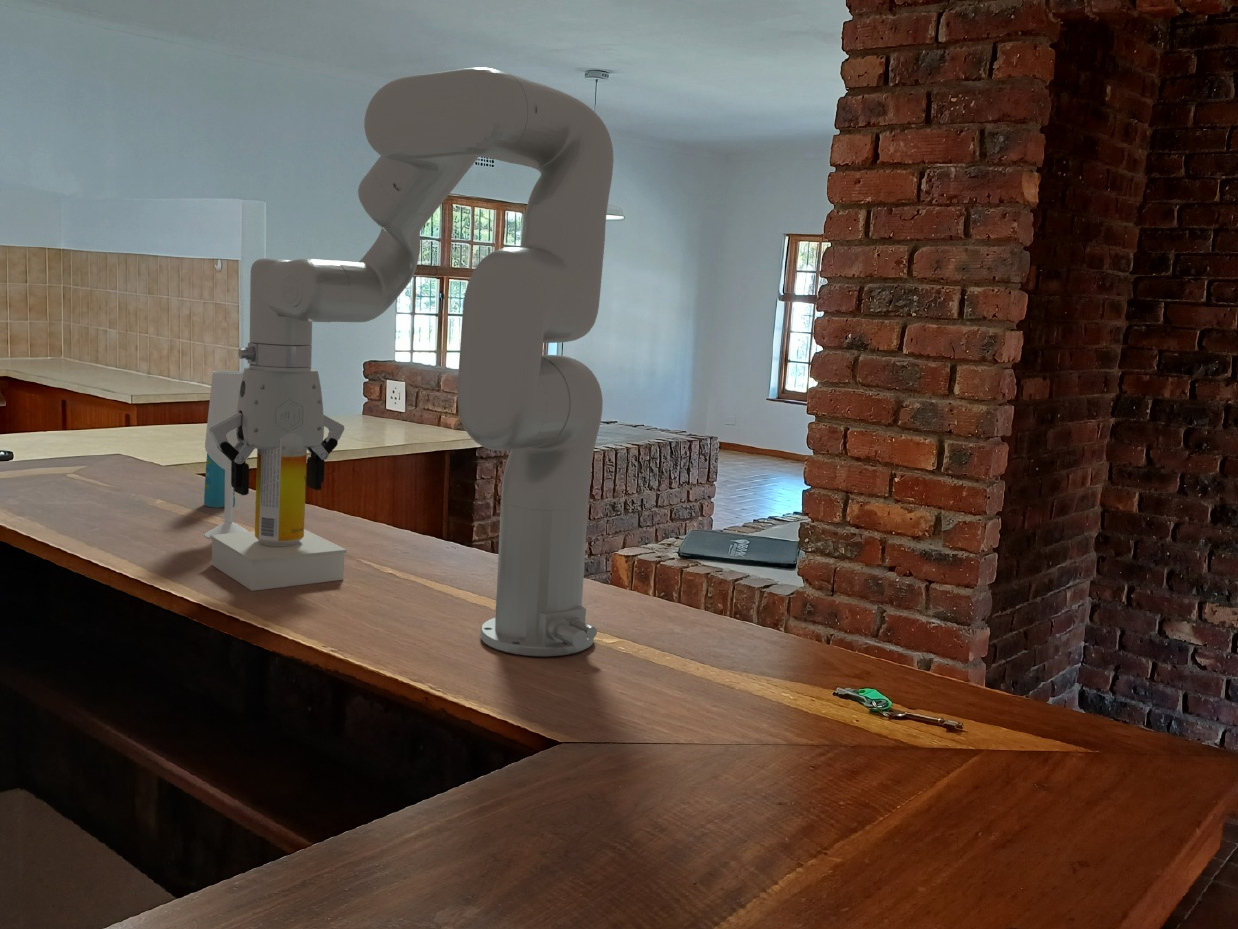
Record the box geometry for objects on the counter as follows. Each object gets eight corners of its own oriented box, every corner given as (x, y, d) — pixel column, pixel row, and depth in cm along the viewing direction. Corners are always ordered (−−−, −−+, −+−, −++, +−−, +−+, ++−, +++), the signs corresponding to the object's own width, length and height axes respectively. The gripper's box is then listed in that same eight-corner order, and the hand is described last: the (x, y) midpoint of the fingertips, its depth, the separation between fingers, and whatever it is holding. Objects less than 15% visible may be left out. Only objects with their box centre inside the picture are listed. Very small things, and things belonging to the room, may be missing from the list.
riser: (345, 579, 141) (346, 549, 140) (251, 591, 133) (251, 559, 132) (299, 555, 151) (300, 527, 151) (209, 564, 144) (210, 535, 143)
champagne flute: (202, 539, 157) (203, 372, 153) (206, 529, 163) (207, 369, 159) (251, 539, 158) (253, 375, 155) (253, 529, 165) (255, 371, 161)
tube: (201, 501, 183) (201, 387, 180) (231, 500, 185) (232, 387, 182) (207, 510, 176) (208, 391, 173) (238, 509, 178) (240, 392, 176)
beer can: (310, 539, 144) (314, 427, 142) (292, 549, 138) (296, 432, 136) (266, 535, 145) (269, 423, 142) (246, 544, 139) (249, 427, 136)
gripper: (222, 359, 129) (221, 500, 132) (357, 361, 140) (353, 491, 143) (201, 354, 135) (200, 490, 138) (331, 356, 146) (328, 482, 149)
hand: (278, 490), depth 140 cm, fingers open, 9 cm apart
